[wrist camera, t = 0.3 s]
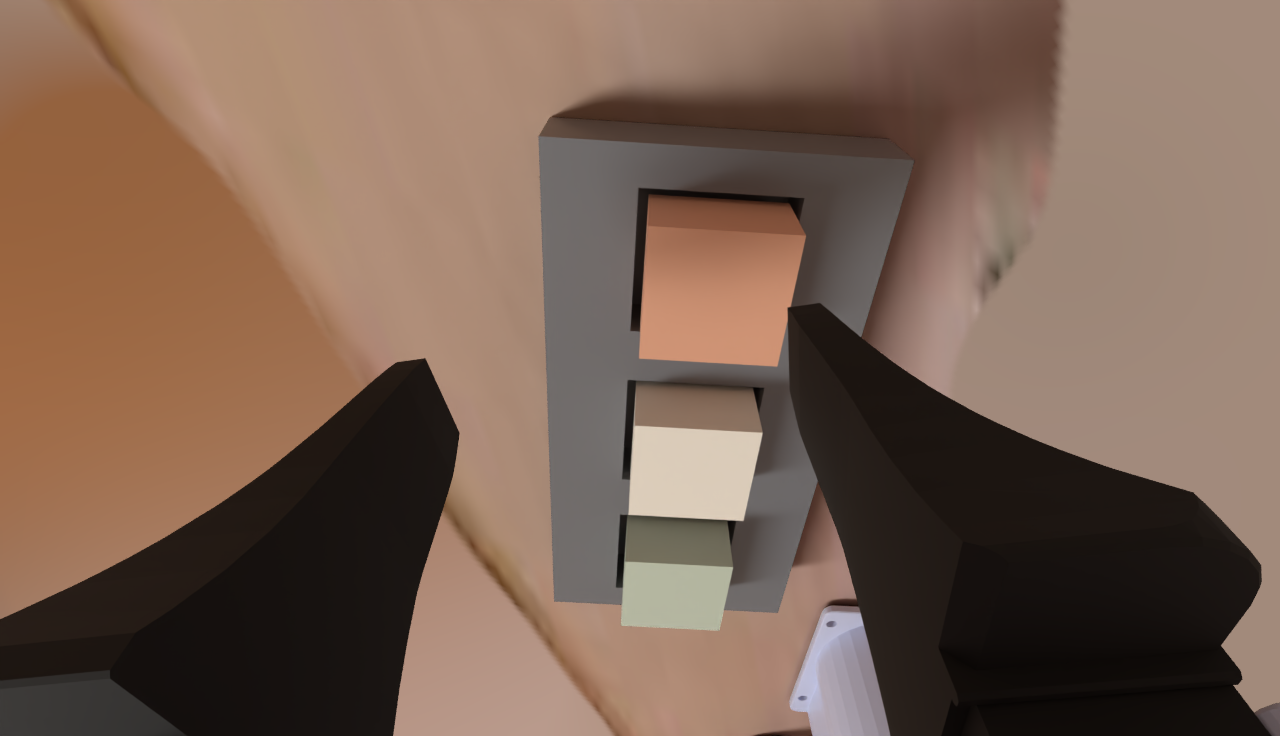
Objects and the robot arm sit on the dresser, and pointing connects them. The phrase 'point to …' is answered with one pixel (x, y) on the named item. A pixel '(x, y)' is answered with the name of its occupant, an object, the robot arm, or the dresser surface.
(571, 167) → the grey flat frame
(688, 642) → the dresser surface
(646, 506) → the cream key
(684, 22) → the dresser surface
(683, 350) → the terracotta key
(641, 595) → the sage key
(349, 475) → the robot arm
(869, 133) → the dresser surface
